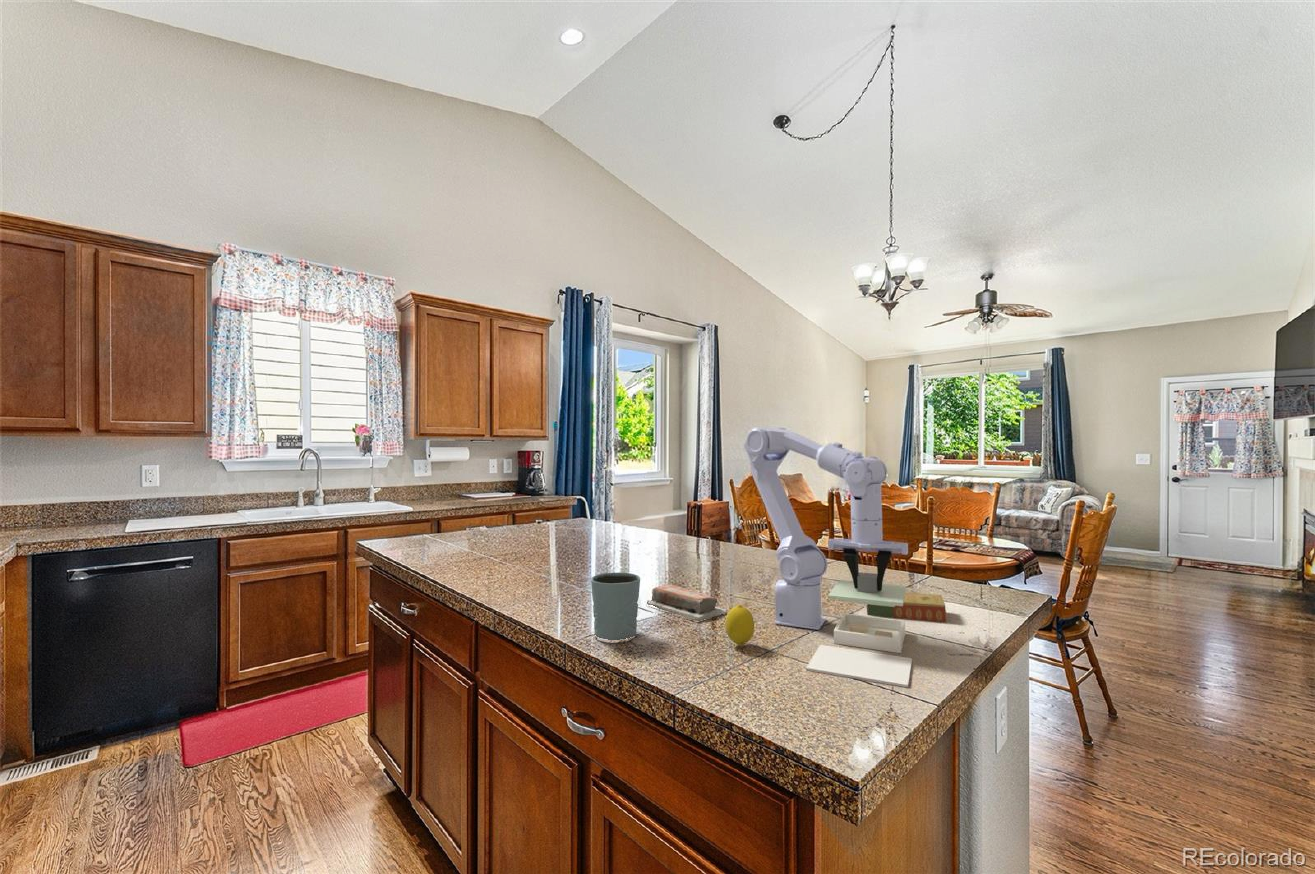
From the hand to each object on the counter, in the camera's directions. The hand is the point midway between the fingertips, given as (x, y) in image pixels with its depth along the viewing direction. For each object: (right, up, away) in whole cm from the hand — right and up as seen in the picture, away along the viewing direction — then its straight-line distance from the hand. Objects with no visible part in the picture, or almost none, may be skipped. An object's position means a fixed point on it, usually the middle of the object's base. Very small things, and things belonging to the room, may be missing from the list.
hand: (868, 588), depth 108 cm
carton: (+15, -11, +18) cm, 26 cm away
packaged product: (-35, -12, +23) cm, 43 cm away
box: (+1, -10, +2) cm, 11 cm away
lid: (0, -2, 0) cm, 2 cm away
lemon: (-25, -11, -1) cm, 27 cm away
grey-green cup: (-50, -12, +6) cm, 51 cm away
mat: (-6, -10, -11) cm, 16 cm away
